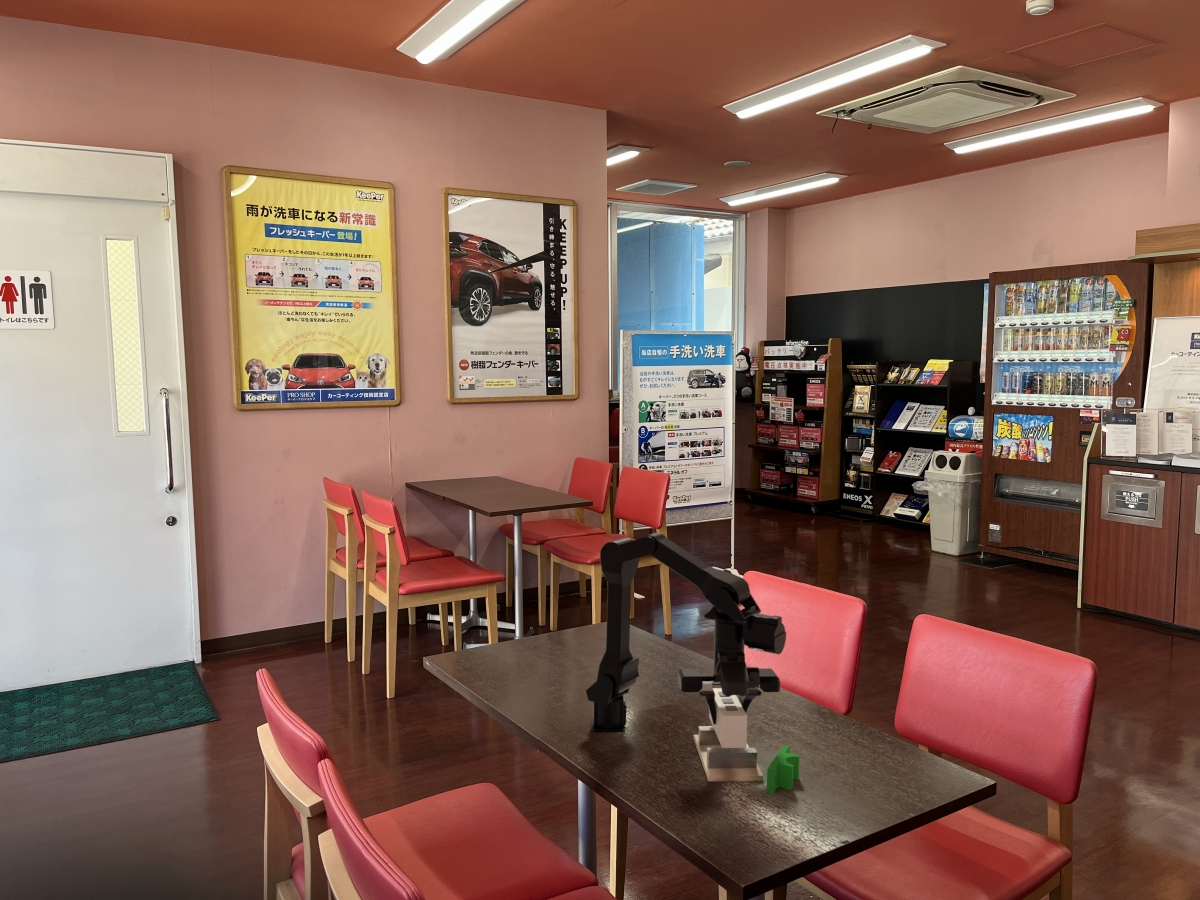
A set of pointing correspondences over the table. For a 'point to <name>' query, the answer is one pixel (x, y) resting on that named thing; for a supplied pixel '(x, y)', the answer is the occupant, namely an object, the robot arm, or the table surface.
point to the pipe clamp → (783, 770)
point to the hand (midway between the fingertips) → (727, 723)
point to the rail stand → (726, 759)
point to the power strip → (729, 721)
